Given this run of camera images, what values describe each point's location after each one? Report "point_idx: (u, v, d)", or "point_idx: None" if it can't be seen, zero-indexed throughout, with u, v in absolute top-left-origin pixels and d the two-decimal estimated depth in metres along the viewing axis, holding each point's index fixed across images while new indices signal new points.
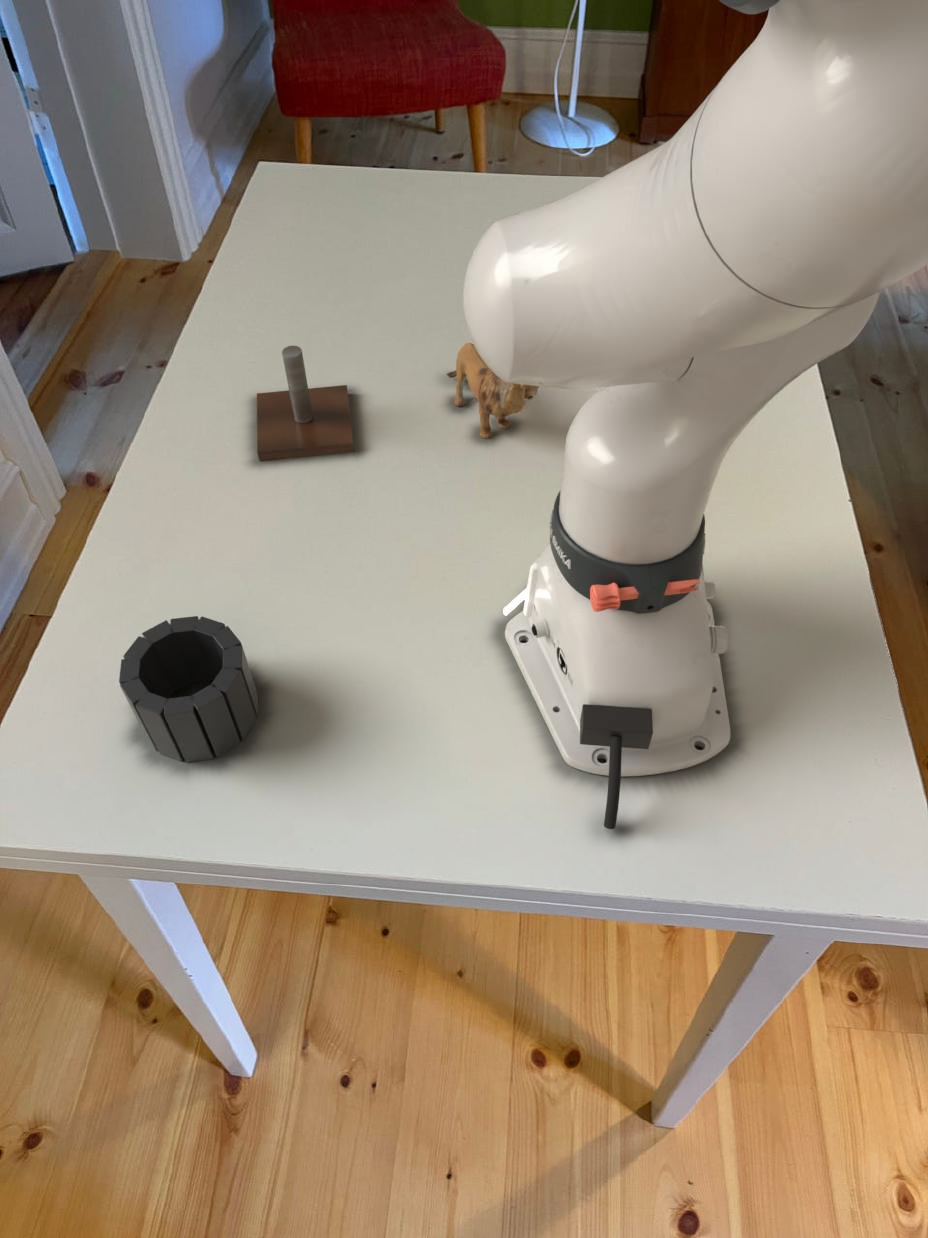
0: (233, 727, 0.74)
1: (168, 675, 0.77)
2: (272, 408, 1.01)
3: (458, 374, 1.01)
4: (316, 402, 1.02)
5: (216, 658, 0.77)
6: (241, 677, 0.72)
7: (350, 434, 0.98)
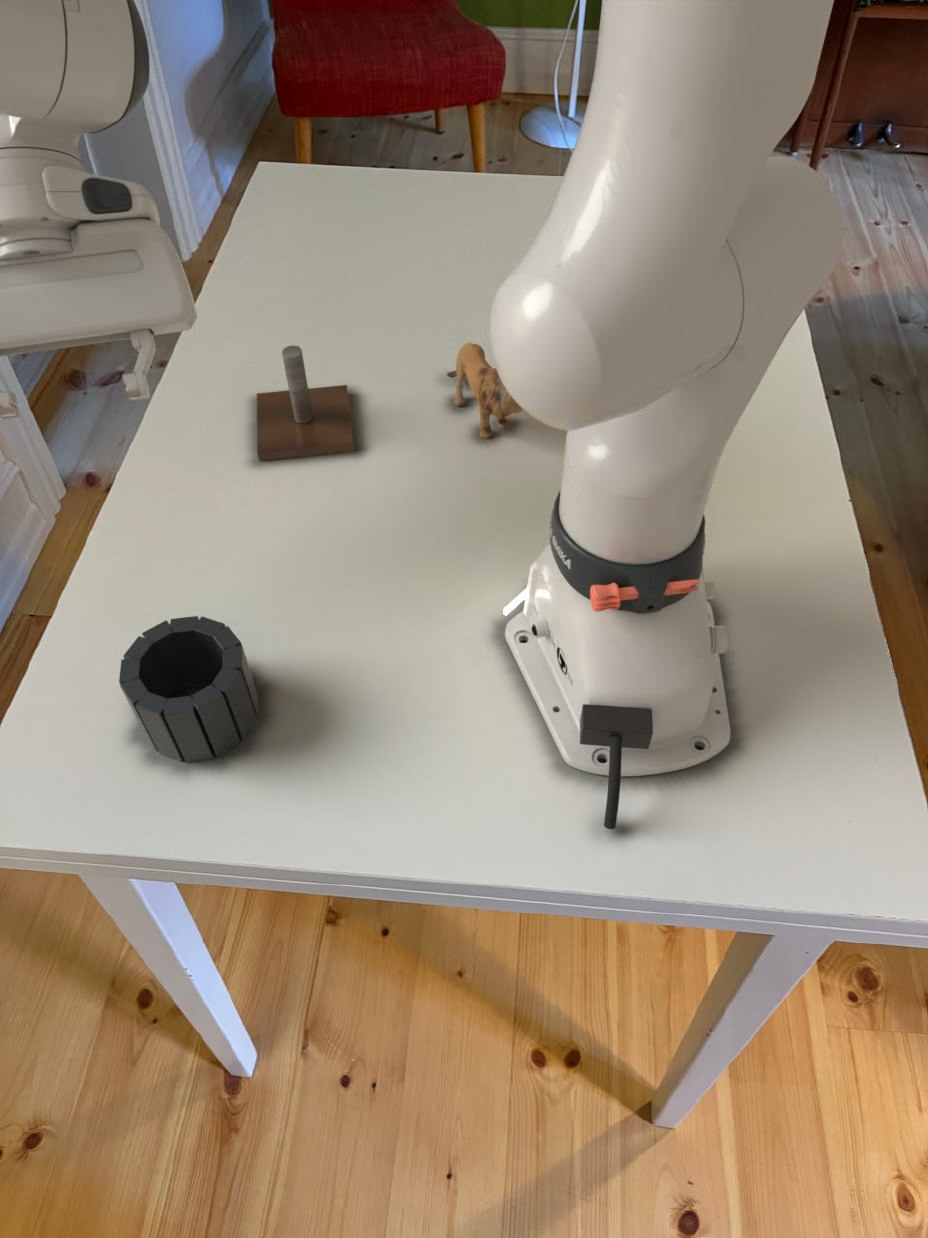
0: (233, 727, 0.74)
1: (168, 675, 0.77)
2: (272, 408, 1.01)
3: (458, 374, 1.01)
4: (316, 402, 1.02)
5: (216, 658, 0.77)
6: (241, 677, 0.72)
7: (350, 434, 0.98)
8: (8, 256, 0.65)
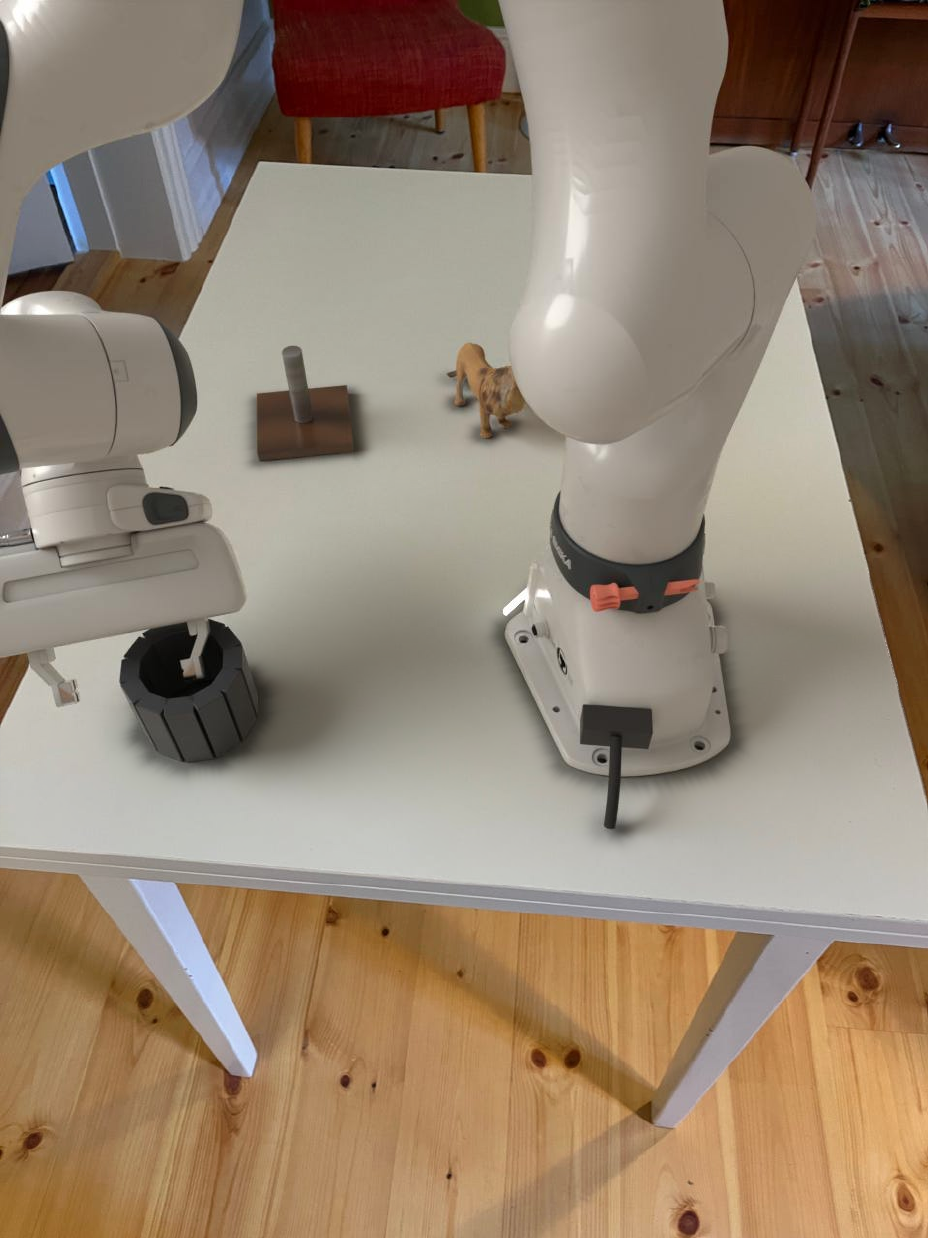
0: (233, 727, 0.74)
1: (168, 675, 0.77)
2: (272, 408, 1.01)
3: (458, 374, 1.01)
4: (316, 402, 1.02)
5: (216, 658, 0.77)
6: (241, 677, 0.72)
7: (350, 434, 0.98)
8: (74, 564, 0.69)
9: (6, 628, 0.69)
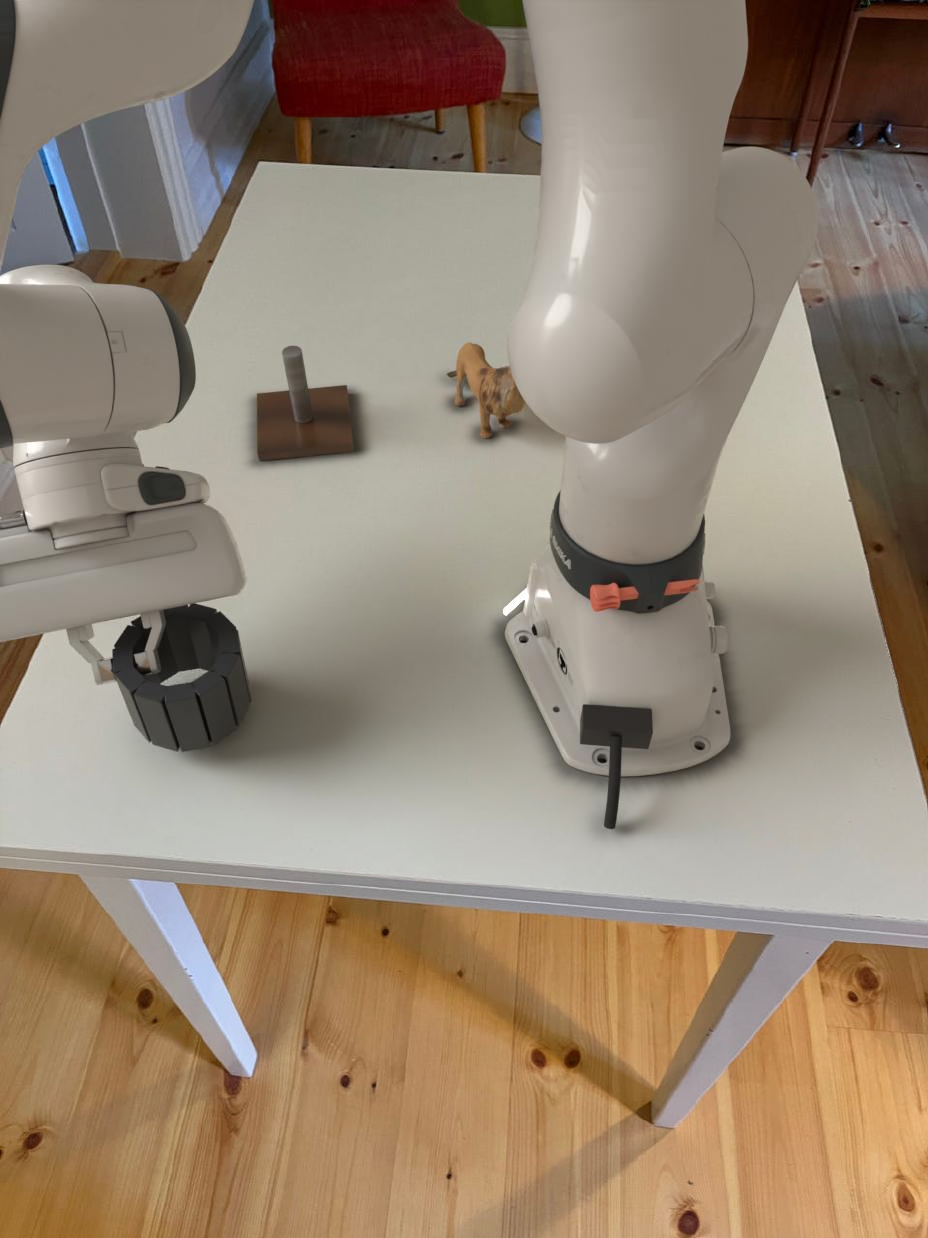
0: (231, 713, 0.73)
1: None
2: (272, 408, 1.01)
3: (458, 374, 1.01)
4: (316, 402, 1.02)
5: (207, 645, 0.75)
6: (240, 661, 0.71)
7: (350, 434, 0.98)
8: (68, 547, 0.67)
9: None
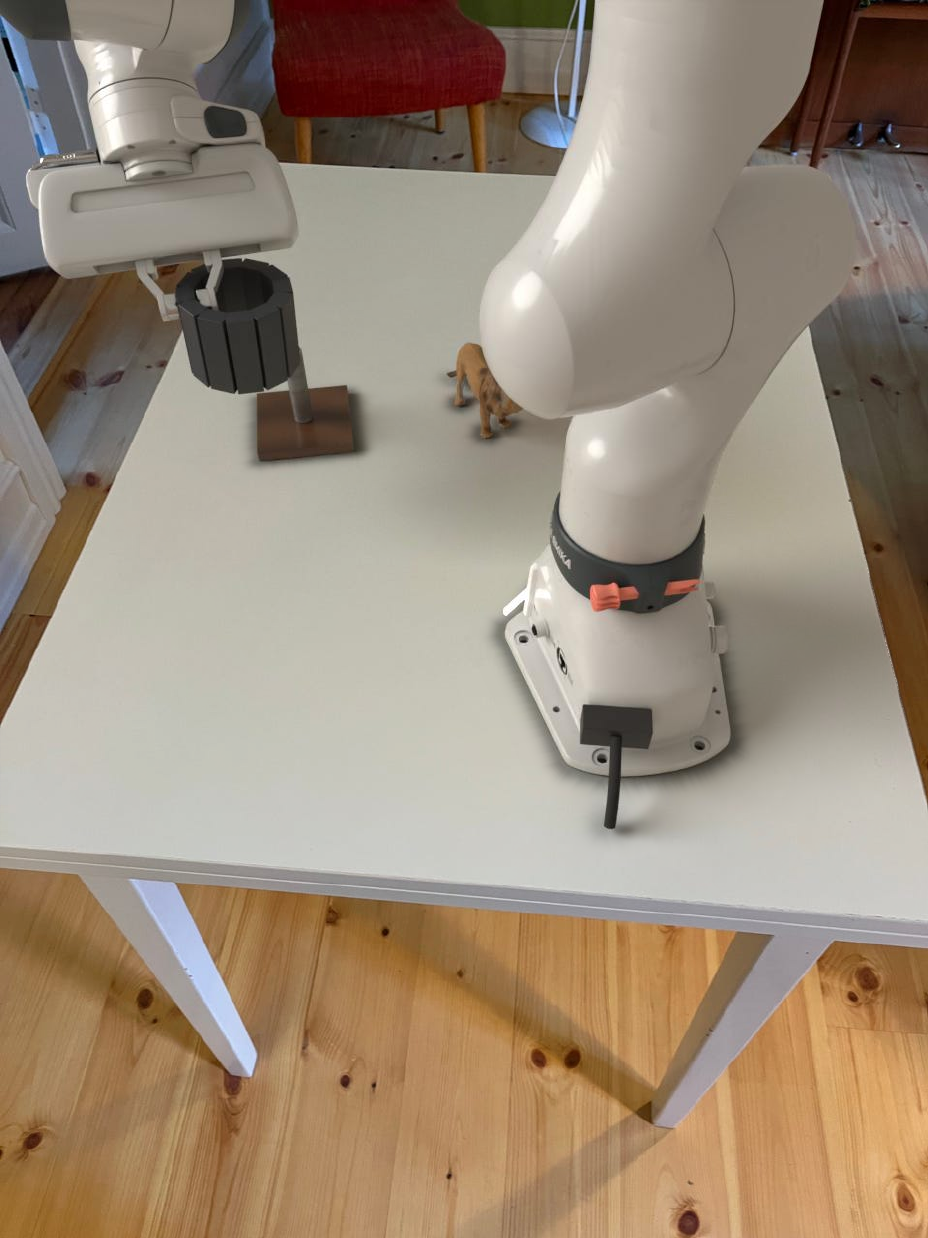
0: (284, 356, 0.79)
1: None
2: (272, 408, 1.01)
3: (458, 374, 1.01)
4: (316, 402, 1.02)
5: (259, 303, 0.81)
6: (292, 301, 0.77)
7: (350, 434, 0.98)
8: (138, 177, 0.73)
9: (74, 237, 0.73)
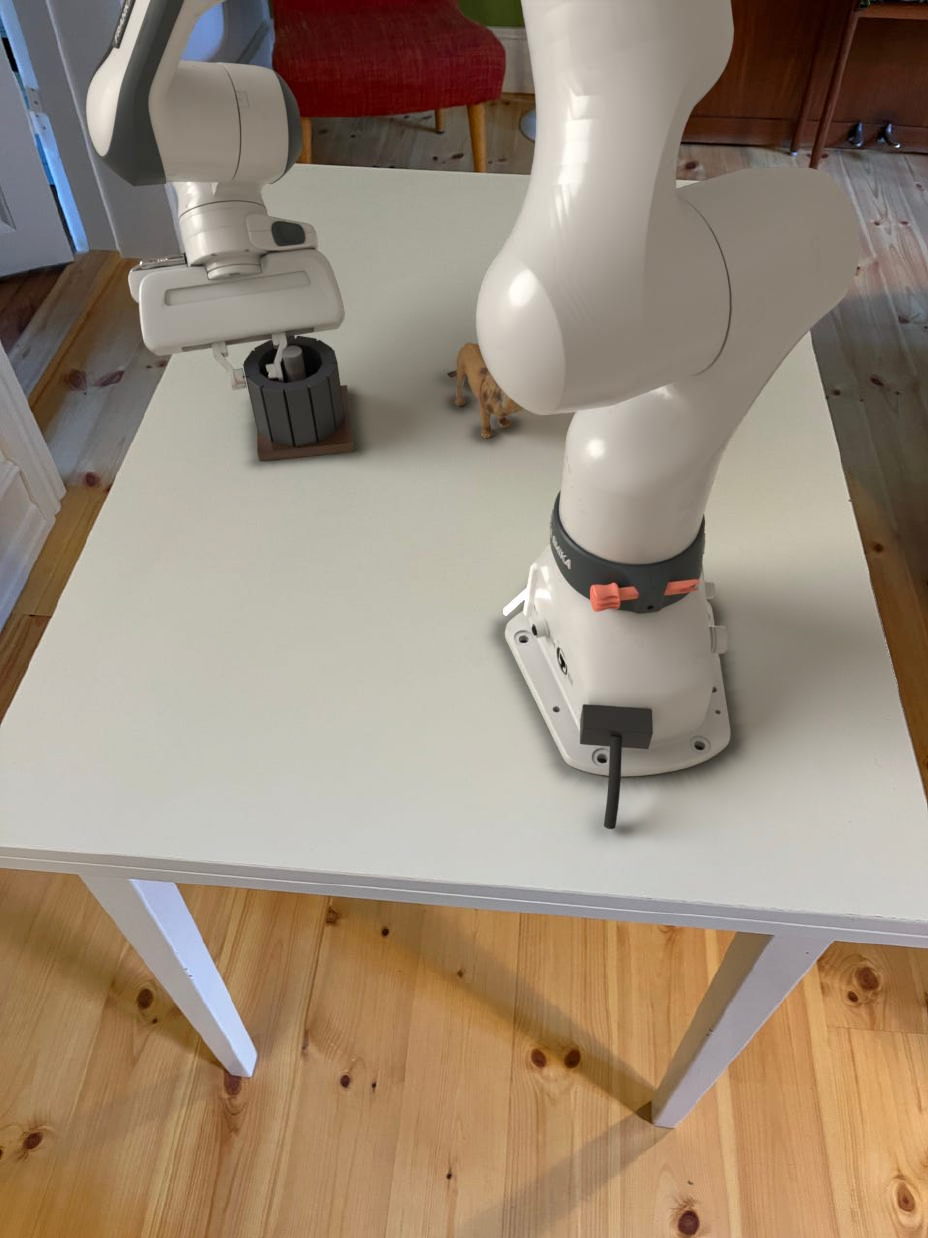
0: (331, 414, 0.97)
1: None
2: None
3: (458, 374, 1.01)
4: None
5: (309, 371, 0.99)
6: (337, 370, 0.95)
7: (350, 434, 0.98)
8: (218, 277, 0.91)
9: (167, 325, 0.91)
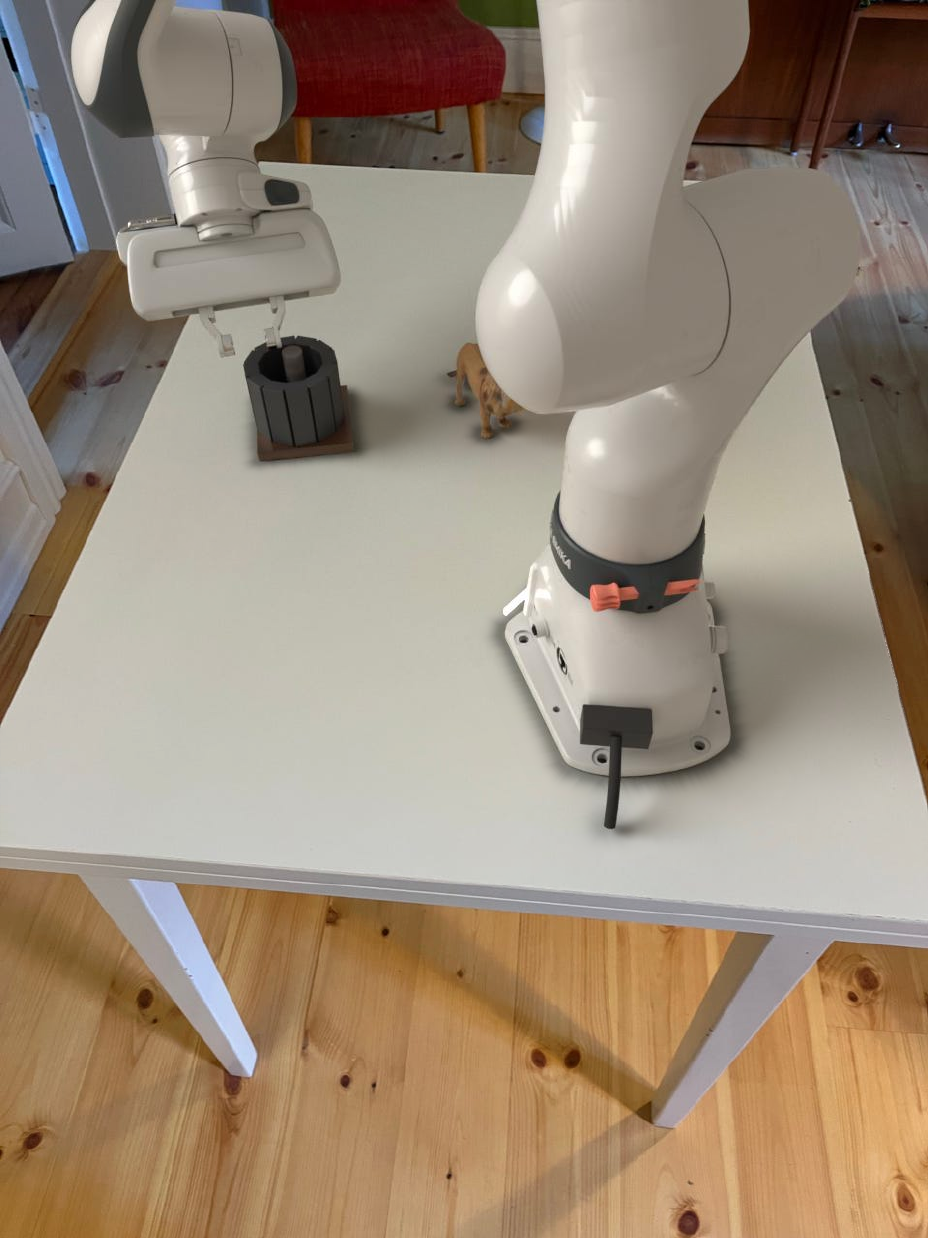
0: (331, 414, 0.97)
1: None
2: None
3: (458, 374, 1.01)
4: None
5: (309, 371, 0.99)
6: (337, 370, 0.95)
7: (350, 434, 0.98)
8: (209, 238, 0.88)
9: (156, 288, 0.88)
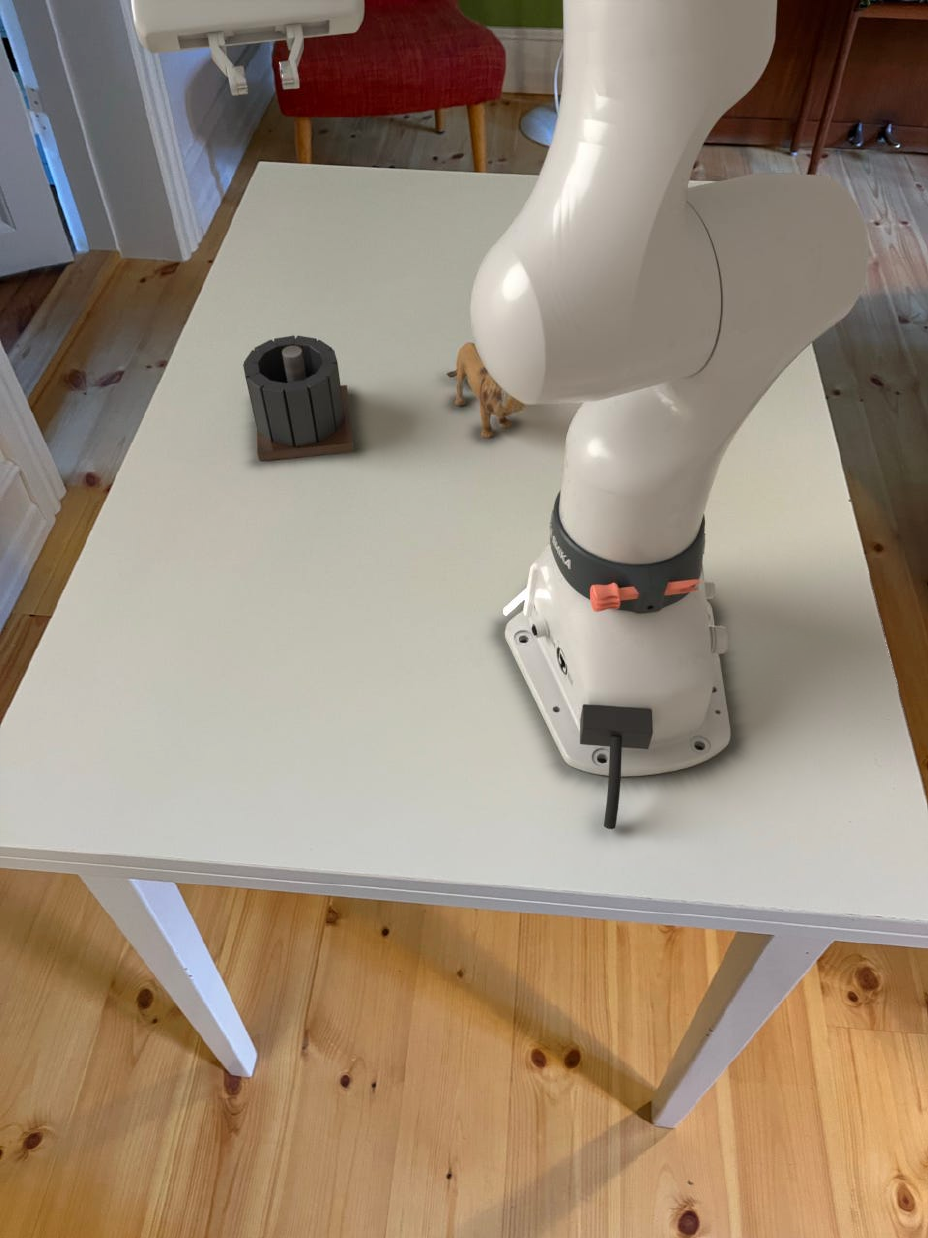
0: (331, 414, 0.97)
1: None
2: None
3: (458, 374, 1.01)
4: None
5: (309, 371, 0.99)
6: (337, 370, 0.95)
7: (350, 434, 0.98)
8: None
9: (161, 6, 0.80)
